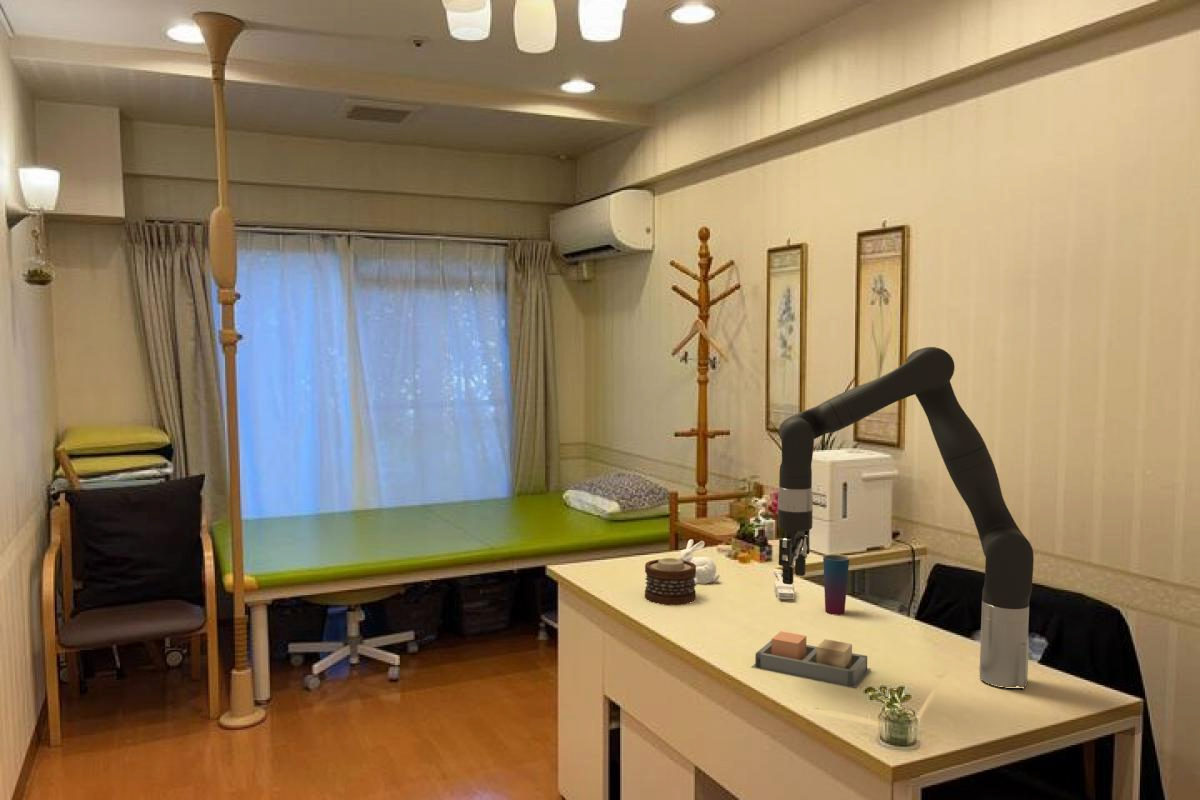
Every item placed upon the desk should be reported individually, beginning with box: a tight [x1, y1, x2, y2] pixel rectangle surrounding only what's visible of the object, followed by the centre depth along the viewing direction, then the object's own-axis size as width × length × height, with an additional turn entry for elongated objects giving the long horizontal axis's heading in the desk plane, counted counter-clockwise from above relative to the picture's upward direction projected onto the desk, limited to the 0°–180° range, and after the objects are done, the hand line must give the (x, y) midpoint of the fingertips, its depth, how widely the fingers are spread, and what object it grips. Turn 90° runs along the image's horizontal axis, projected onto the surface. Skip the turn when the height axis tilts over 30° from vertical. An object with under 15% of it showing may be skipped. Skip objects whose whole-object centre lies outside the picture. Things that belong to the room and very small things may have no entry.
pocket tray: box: [751, 639, 872, 689], centre depth 198 cm, size 23×13×4 cm, turn 59°
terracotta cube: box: [771, 631, 807, 660], centre depth 201 cm, size 6×6×6 cm
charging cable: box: [773, 568, 795, 600], centre depth 267 cm, size 5×32×3 cm, turn 173°
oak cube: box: [816, 638, 853, 669], centre depth 195 cm, size 6×6×6 cm
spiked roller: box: [644, 557, 697, 606], centre depth 255 cm, size 15×11×15 cm
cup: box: [822, 554, 850, 616], centre depth 242 cm, size 7×7×15 cm
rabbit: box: [678, 539, 721, 585], centre depth 273 cm, size 12×9×12 cm
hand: (794, 579), depth 200 cm, fingers open, 8 cm apart
